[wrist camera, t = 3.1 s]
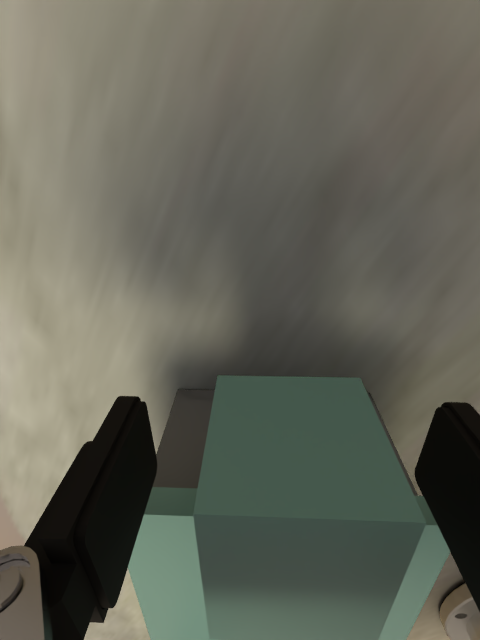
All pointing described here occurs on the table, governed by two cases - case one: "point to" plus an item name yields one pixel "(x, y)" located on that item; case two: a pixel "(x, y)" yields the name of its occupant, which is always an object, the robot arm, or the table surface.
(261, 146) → the table surface
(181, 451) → the tub
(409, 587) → the lid
